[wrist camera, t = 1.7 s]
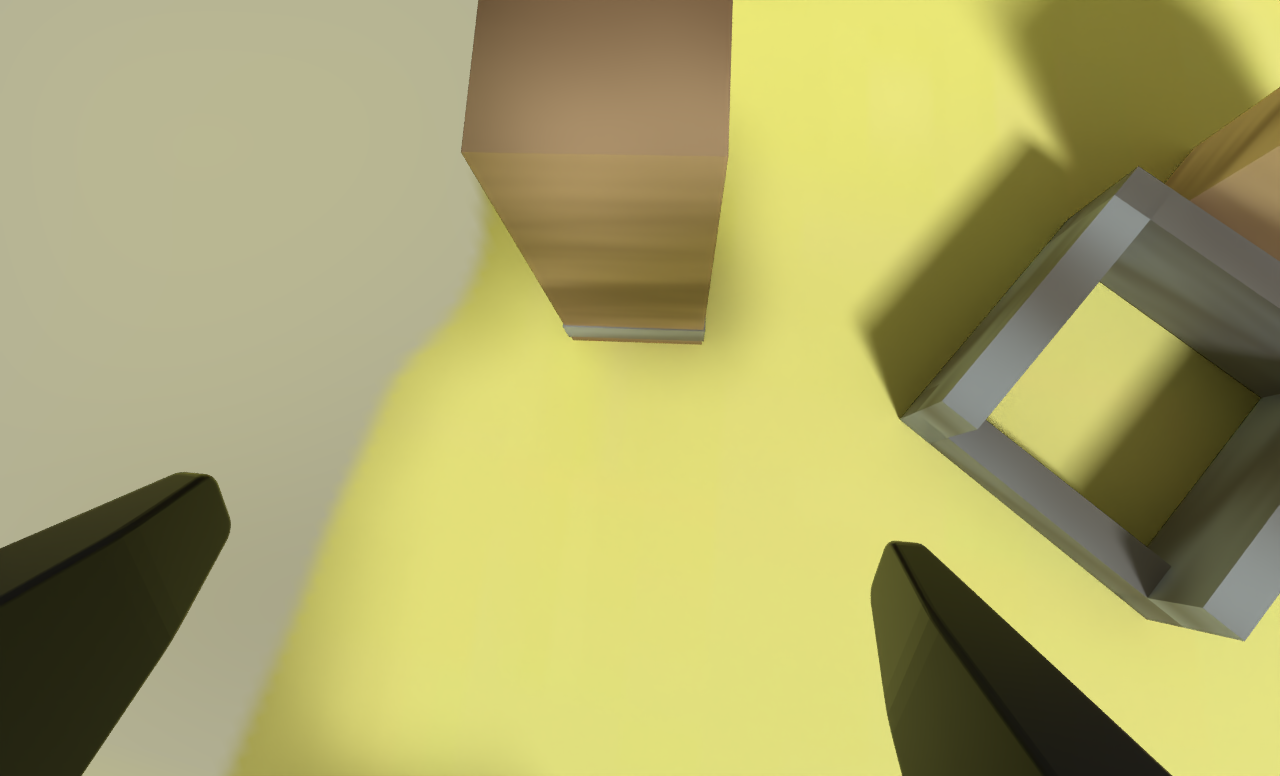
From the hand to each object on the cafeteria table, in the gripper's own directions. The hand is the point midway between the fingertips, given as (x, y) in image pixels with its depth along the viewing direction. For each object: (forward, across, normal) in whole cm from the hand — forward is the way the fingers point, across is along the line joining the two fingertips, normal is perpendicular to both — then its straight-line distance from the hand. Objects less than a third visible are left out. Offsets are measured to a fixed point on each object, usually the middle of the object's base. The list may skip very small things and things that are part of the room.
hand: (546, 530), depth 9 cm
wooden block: (+15, 0, +2) cm, 15 cm away
